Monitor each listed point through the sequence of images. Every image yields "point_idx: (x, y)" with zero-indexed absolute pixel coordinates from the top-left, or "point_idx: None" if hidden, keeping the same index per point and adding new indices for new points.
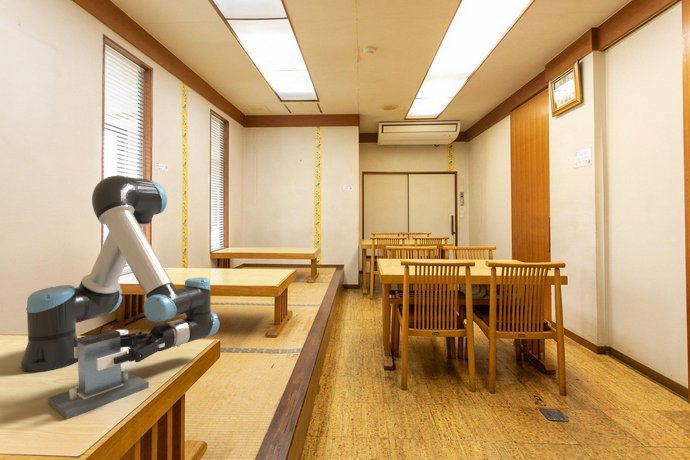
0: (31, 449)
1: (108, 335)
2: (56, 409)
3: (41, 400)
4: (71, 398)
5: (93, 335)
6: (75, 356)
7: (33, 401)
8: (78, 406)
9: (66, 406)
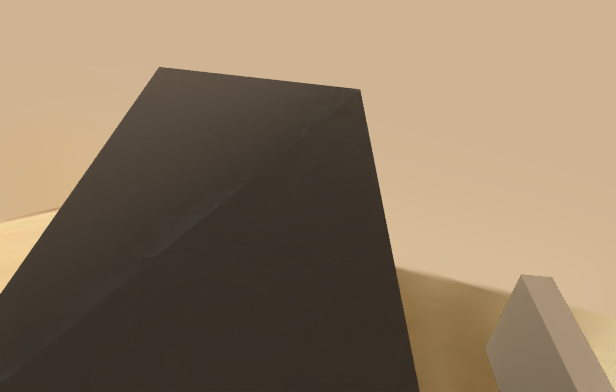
0: (37, 227)
1: (43, 252)
2: None
3: (451, 370)
4: None
5: (293, 159)
6: (491, 336)
7: (466, 350)
8: None
9: None
